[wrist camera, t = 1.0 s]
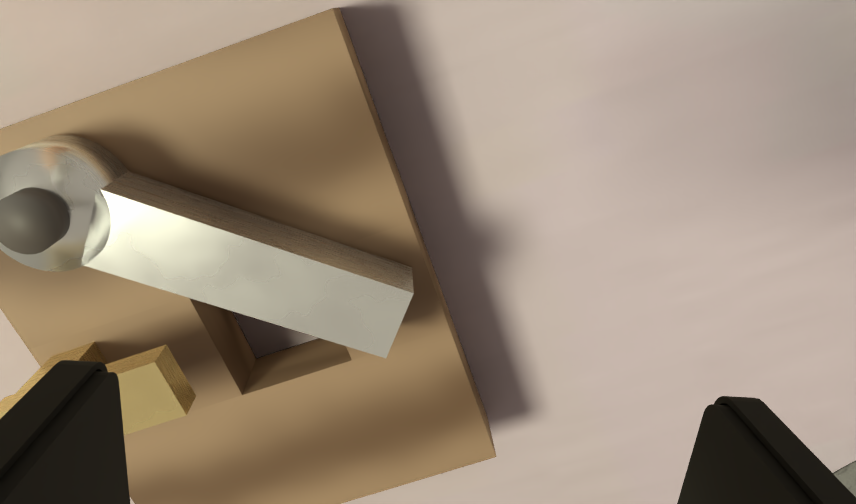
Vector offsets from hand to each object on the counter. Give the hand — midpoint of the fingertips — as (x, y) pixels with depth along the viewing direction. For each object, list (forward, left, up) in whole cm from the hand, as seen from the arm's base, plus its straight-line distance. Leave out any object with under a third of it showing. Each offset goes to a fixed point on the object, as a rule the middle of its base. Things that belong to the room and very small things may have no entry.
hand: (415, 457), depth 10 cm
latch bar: (0, -7, -15) cm, 17 cm away
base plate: (+4, -9, -18) cm, 21 cm away
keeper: (+3, -13, -15) cm, 20 cm away
